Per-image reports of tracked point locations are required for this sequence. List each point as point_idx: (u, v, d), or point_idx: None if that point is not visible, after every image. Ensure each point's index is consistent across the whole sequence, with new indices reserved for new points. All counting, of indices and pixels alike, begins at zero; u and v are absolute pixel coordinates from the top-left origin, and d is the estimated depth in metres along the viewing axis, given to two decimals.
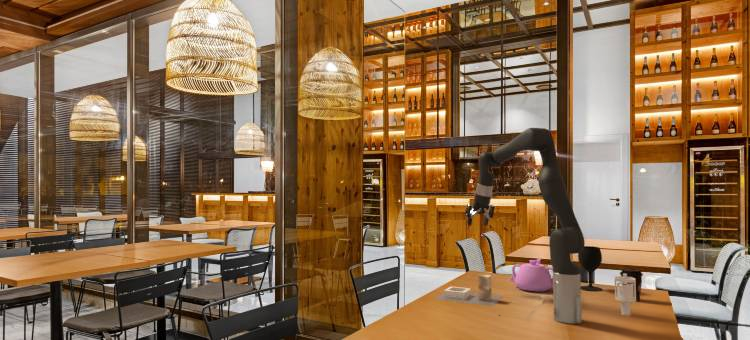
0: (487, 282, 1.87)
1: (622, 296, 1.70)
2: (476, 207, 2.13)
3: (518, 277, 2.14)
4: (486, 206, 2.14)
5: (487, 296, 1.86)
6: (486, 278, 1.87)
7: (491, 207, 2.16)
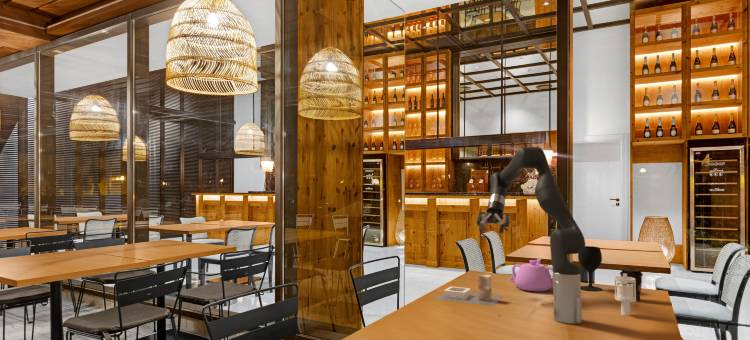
0: (487, 282, 1.87)
1: (622, 296, 1.70)
2: (487, 214, 2.07)
3: (518, 277, 2.14)
4: (498, 213, 2.05)
5: (487, 296, 1.86)
6: (486, 278, 1.87)
7: None
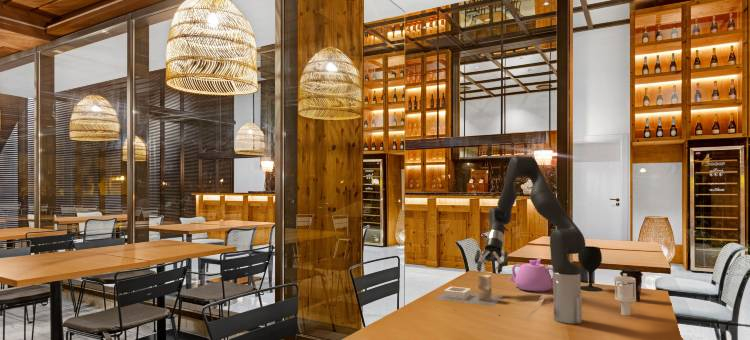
0: (487, 282, 1.87)
1: (622, 296, 1.70)
2: (485, 252, 2.02)
3: (518, 277, 2.14)
4: (497, 251, 2.00)
5: (487, 296, 1.86)
6: (486, 278, 1.87)
7: None
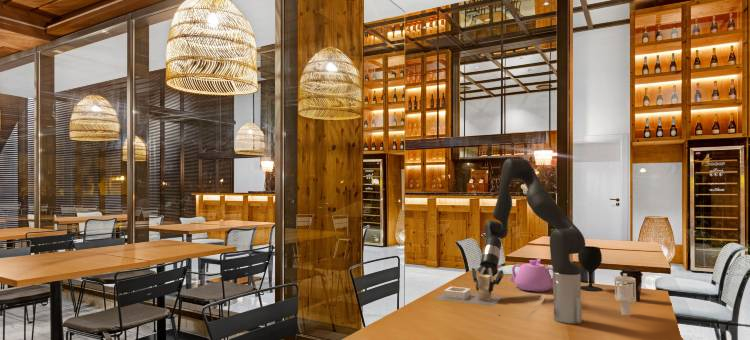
0: (487, 282, 1.87)
1: (622, 296, 1.70)
2: (480, 269, 1.95)
3: (518, 277, 2.14)
4: (493, 267, 1.93)
5: (487, 296, 1.86)
6: (486, 278, 1.87)
7: None
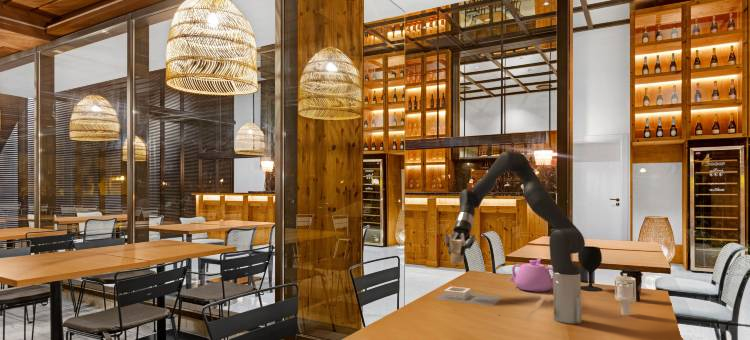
0: (459, 246, 1.93)
1: (622, 296, 1.70)
2: (453, 235, 2.01)
3: (518, 277, 2.14)
4: (466, 233, 1.99)
5: (459, 259, 1.93)
6: (458, 242, 1.93)
7: None
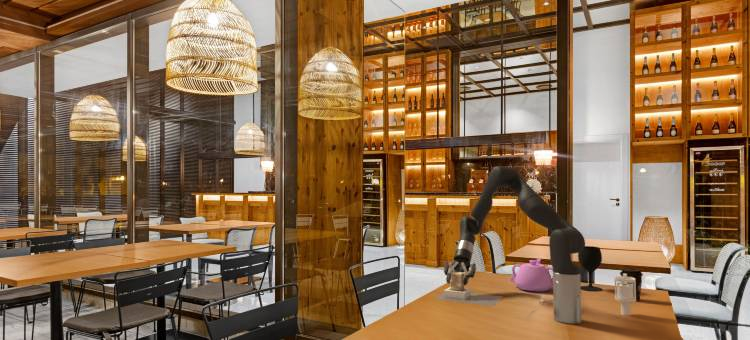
0: (459, 279, 1.92)
1: (622, 296, 1.70)
2: (453, 263, 2.01)
3: (518, 277, 2.14)
4: (465, 262, 1.99)
5: None
6: (458, 275, 1.93)
7: None
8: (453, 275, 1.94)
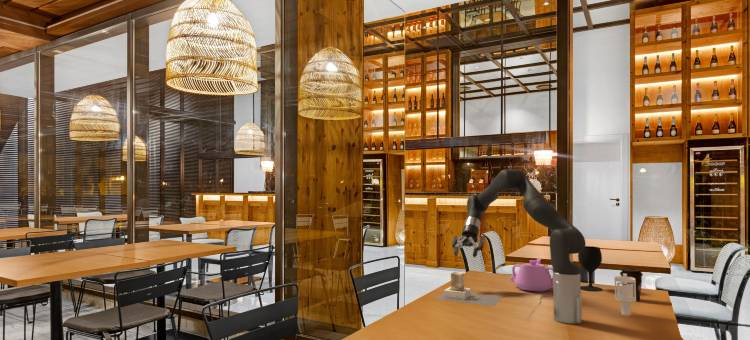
0: (459, 279, 1.92)
1: (622, 296, 1.70)
2: (462, 237, 2.13)
3: (518, 277, 2.14)
4: (473, 237, 2.10)
5: None
6: (458, 275, 1.93)
7: None
8: (453, 275, 1.94)
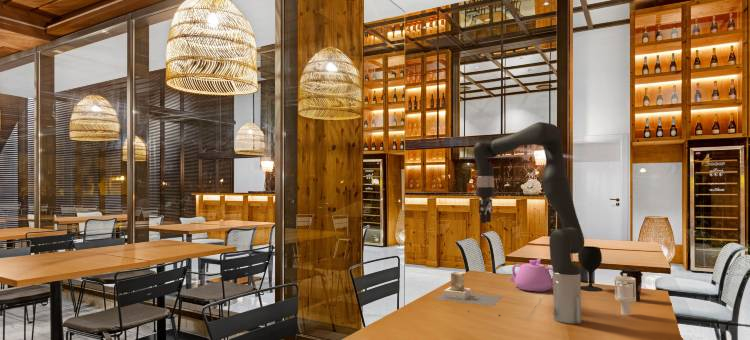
0: (459, 279, 1.92)
1: (622, 296, 1.70)
2: (486, 201, 1.99)
3: (518, 277, 2.14)
4: (489, 199, 2.03)
5: None
6: (458, 275, 1.93)
7: (489, 201, 2.06)
8: (453, 275, 1.94)
